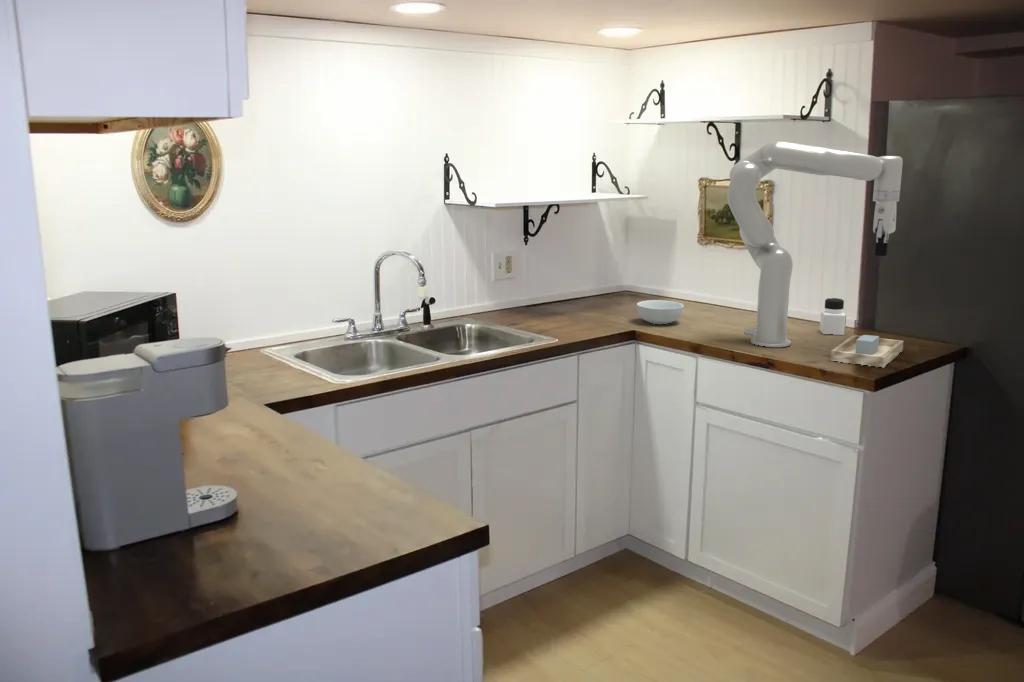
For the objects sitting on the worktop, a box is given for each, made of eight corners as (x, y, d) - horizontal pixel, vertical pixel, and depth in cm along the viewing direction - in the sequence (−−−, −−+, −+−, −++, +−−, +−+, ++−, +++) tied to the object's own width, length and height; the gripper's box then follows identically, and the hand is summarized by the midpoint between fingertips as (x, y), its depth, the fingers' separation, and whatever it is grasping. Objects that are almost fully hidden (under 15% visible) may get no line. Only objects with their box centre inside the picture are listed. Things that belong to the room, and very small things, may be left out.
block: (862, 348, 261) (855, 354, 254) (863, 334, 260) (856, 339, 253) (877, 350, 258) (870, 356, 251) (879, 336, 257) (872, 341, 250)
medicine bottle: (844, 335, 285) (847, 300, 282) (822, 334, 286) (825, 300, 284) (841, 331, 292) (843, 297, 289) (819, 330, 293) (822, 296, 291)
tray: (830, 361, 251) (831, 350, 250) (852, 344, 271) (853, 335, 271) (883, 368, 242) (884, 357, 241) (902, 350, 263) (903, 340, 262)
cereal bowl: (632, 326, 303) (633, 306, 301) (639, 317, 318) (640, 299, 317) (680, 328, 298) (681, 309, 296) (685, 319, 313) (686, 301, 312)
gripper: (893, 198, 252) (888, 258, 256) (904, 195, 264) (898, 253, 268) (867, 197, 256) (862, 257, 260) (879, 195, 268) (873, 252, 272)
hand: (880, 255), depth 264 cm, fingers closed
